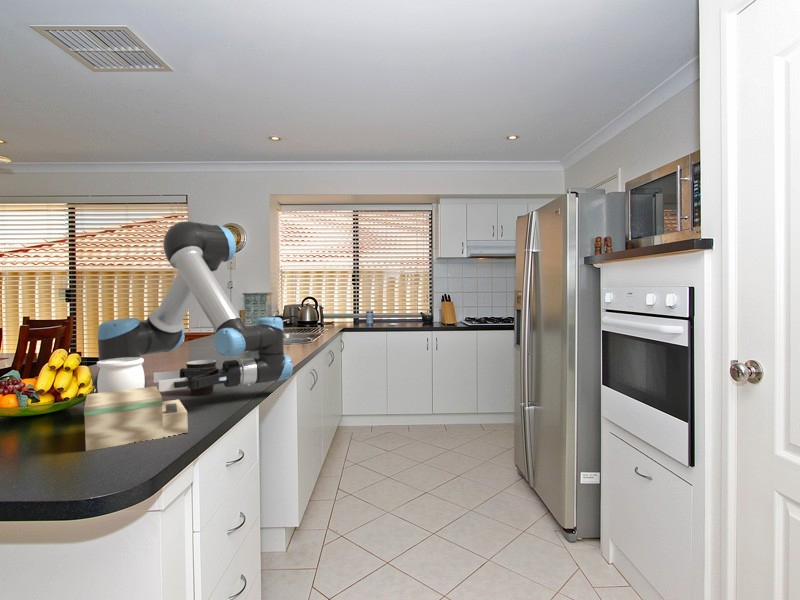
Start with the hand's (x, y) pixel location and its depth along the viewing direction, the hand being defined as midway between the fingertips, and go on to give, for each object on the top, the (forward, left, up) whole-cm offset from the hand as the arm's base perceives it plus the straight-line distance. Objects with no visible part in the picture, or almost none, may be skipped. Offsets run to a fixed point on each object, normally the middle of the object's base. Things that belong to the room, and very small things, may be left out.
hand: (155, 381), depth 119 cm
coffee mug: (-24, +4, -9) cm, 26 cm away
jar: (+3, -7, -9) cm, 12 cm away
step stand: (+17, +3, -8) cm, 19 cm away
